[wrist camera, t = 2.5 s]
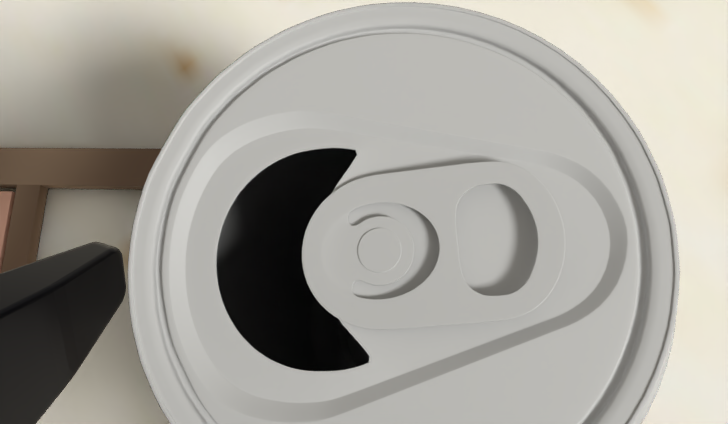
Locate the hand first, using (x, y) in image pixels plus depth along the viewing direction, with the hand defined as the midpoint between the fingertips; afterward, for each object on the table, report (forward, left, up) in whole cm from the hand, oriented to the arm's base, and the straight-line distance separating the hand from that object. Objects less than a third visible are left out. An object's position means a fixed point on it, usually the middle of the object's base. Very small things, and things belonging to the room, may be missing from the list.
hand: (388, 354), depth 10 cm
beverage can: (+1, 0, -9) cm, 9 cm away
